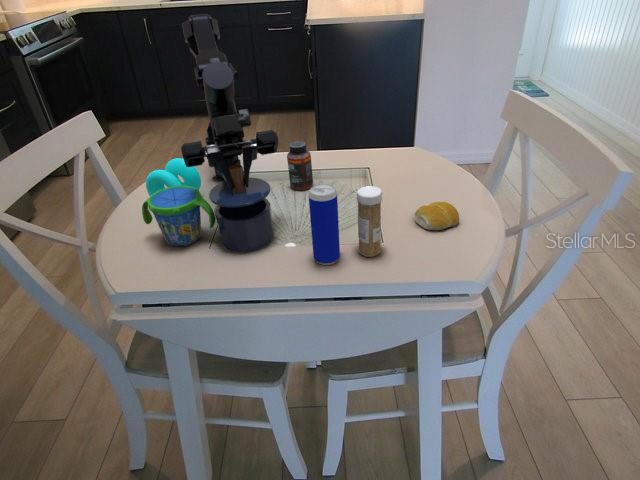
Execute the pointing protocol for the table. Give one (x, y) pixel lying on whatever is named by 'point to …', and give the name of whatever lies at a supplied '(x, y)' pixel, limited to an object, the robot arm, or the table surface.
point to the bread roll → (437, 216)
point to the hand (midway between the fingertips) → (239, 188)
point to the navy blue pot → (245, 226)
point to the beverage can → (324, 223)
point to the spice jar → (369, 220)
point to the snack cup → (178, 213)
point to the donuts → (173, 176)
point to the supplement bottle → (299, 166)
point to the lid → (239, 190)
